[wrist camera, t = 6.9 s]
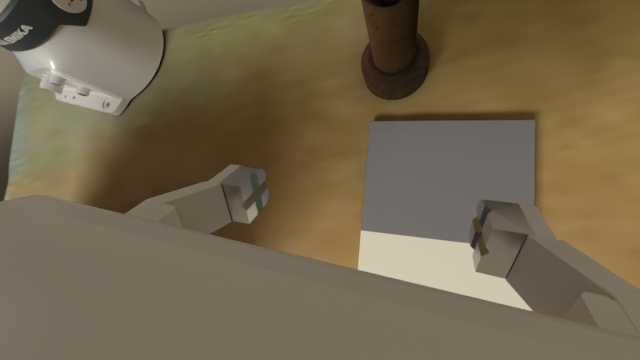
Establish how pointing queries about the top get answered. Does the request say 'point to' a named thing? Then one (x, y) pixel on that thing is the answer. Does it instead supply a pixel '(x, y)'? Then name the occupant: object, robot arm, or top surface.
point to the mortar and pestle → (393, 48)
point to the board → (441, 199)
